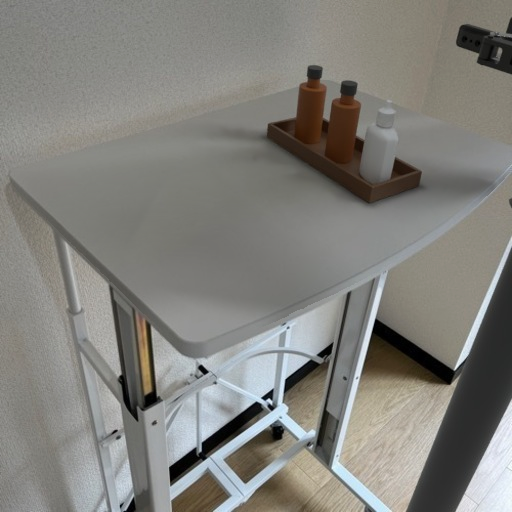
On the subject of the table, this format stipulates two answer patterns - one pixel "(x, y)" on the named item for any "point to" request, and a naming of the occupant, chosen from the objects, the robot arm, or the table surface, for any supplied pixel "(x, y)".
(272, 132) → the tray
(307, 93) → the amber bottle far
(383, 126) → the eye dropper bottle
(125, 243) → the table surface
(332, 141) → the amber bottle middle
